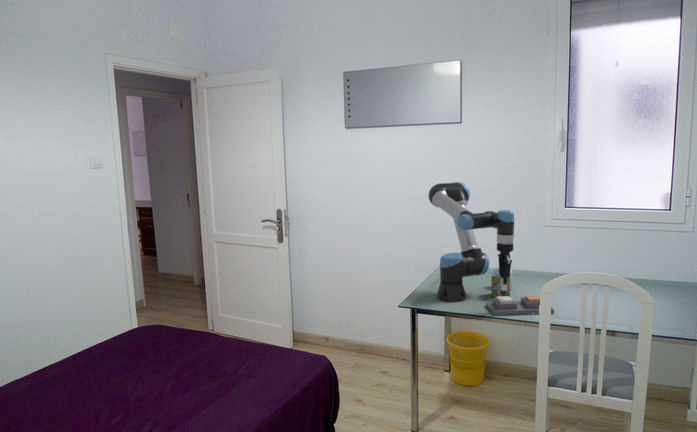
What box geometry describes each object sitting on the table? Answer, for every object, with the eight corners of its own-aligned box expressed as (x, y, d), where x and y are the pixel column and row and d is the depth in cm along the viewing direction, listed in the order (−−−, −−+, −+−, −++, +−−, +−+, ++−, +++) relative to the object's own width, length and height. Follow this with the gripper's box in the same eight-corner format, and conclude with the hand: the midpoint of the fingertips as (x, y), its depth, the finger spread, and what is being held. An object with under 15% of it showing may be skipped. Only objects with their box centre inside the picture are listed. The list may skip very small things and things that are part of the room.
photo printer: (493, 287, 263) (493, 266, 261) (497, 285, 266) (497, 264, 264) (509, 291, 255) (509, 269, 253) (513, 289, 258) (514, 267, 256)
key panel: (494, 315, 219) (494, 306, 218) (485, 305, 233) (485, 297, 232) (553, 313, 219) (554, 304, 218) (541, 303, 233) (541, 295, 232)
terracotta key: (529, 304, 222) (529, 299, 222) (524, 300, 228) (524, 295, 228) (542, 304, 222) (542, 299, 222) (537, 300, 228) (537, 295, 228)
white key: (500, 305, 222) (500, 300, 222) (496, 301, 228) (496, 296, 228) (512, 305, 222) (512, 300, 222) (508, 301, 228) (508, 296, 228)
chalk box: (509, 299, 241) (510, 272, 239) (491, 298, 244) (491, 271, 242) (510, 294, 249) (510, 267, 247) (492, 293, 253) (492, 266, 251)
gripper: (517, 245, 215) (516, 294, 219) (508, 239, 228) (507, 285, 231) (501, 245, 215) (500, 294, 219) (493, 240, 228) (492, 286, 232)
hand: (503, 290), depth 225 cm, fingers closed
